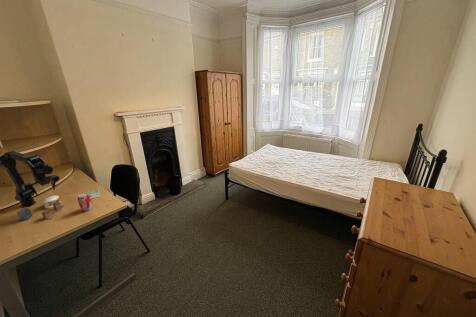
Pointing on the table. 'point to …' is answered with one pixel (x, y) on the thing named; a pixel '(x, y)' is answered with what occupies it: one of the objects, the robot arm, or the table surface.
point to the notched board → (52, 211)
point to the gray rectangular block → (24, 214)
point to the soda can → (84, 202)
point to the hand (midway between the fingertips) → (45, 192)
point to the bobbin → (50, 201)
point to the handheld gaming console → (93, 194)
